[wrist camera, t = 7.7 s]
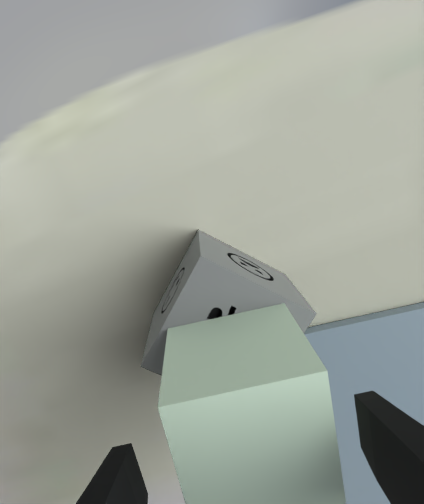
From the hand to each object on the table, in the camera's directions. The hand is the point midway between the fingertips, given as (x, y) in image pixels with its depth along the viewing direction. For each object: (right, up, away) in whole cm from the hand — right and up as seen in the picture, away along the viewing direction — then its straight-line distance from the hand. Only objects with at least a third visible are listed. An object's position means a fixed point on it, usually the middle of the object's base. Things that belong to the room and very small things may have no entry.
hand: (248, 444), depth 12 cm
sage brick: (0, +1, +3) cm, 3 cm away
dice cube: (-1, +4, +8) cm, 9 cm away
